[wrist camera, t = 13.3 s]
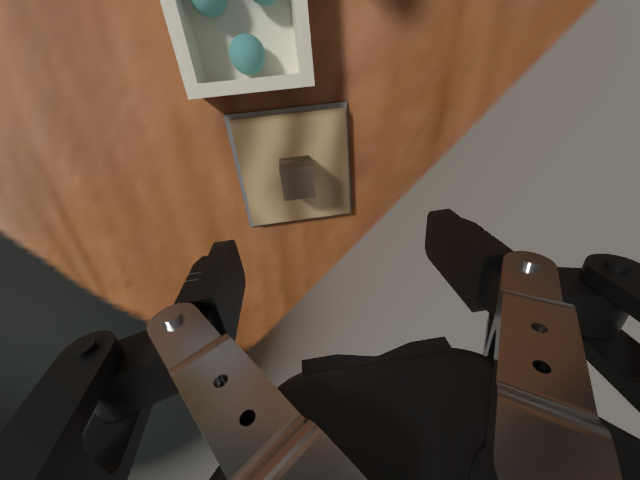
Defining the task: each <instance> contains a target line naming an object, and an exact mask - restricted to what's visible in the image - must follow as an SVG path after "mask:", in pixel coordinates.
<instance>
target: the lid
mask: <svg viewBox="0 0 640 480" xmlns="http://www.w3.org/2000/svg"><path fill="white" fill-rule="evenodd" d="M229 122H230V126H231V131H232V135H233V139H234V144H235V148H236V152H237V157H238V161H239V165H240V170H241V174H242V179H243V183H244V187H245V192H246V196H247V200H248V205H249V209H250V214H251V218H252V222H253V226H257V225H264V224H272V223H279V222H287V221H294V220H302V219H309V218H317V217H324V216H331V215H339V214H346V213H350V201H349V177H348V153H347V128H346V107H338V108H329V109H320V110H311V111H301V112H292V113H283V114H274V115H265V116H256V117H247V118H238V119H230V120H229Z"/></svg>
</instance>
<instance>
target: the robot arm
mask: <svg viewBox="0 0 640 480" xmlns="http://www.w3.org/2000/svg"><path fill="white" fill-rule="evenodd" d="M425 250H426V254H427V256H428V258H429V260H430V261H431V262H432V263H433V265H434V266H435V267H436V268H437V270H438V271H439V272H440V273H441V274H442V276H443V277H444V278H445V279H446V280H447V282H448V283H449V284H450V285H451V287H452V288H453V289H454V290H455V292H456V293H457V294H458V295H459V296H460V298H461V299H462V300H463V301H464V302H465V304H466V305H467V306H468V307H469V309H470V310H471V311H472V312H477V311H483V310H487V311H488V312H489V315H488V320H487V325H486V333H485V341H484V348H483V355H482V354H479V353H475V352H472V351H468V350H464V349H458V348H451V346H450V345H449V343H448V341H447V340H446V338H445V337H439V338H433V339H427V340H421V341H415V342H410V343H407V344H405V345H403V346H400V347H398V348H396V349H393V350H391V351H389V352H386V353H384V354H382V355H379V356H357V355H339V354H337V355H331V356H325V357H319V358H313V359H306V360H302V373H300V374H297V375H295V376H293V377H292V378H290V379H288V380H287V381H285V382H284V383H283V384H281V385H280V386H279V387H278V388H276V387H275V385H273V383H272V382H271V381H270V380H269V379H268V378H267V377H266V376H265V375H264V373H263V372H262V371H261V370H260V369H259V368H258V367H257V366H256V365H255V364H254V362H253V361H252V360H251V359H250V358H249V357H248V356H247V355H246V354H245V352H244V351H243V350H242V349H241V348H240V347H239V346H238V345H237V344H236V343H235V338H236V333H237V327H238V322H239V317H240V311H241V306H242V301H243V296H244V290H245V274H244V270H243V266H242V263H241V260H240V256H239V253H238V249H237V246H236V243H235V241H234V240H228V241H221V242H215V243H214V244H213V246H212V248H211V250H210V253H209V255H208V256H202V257H201V258H200V259H199V260H198V261H197V262H196V263H195V264H194V265H193V267H192V269H191V271H190V273H189V275H188V277H187V279H186V282H185V283H184V285H183V287H182V289H181V291H180V293H179V295H178V297H177V299H176V301H175V303H174V305H171V306H168V307H166V308H164V309H163V310H161V311H160V312H158V313H157V314H156V315H154V316H153V318H152V319H151V320H150V321H149V323H148V325H147V330H145V331H142V332H140V333H137V334H134V335H132V336H129V337H126V338H124V339H121V340H118V339H117V338H116V336H115V335H114V334H113V333H112V332H111V331H106V330H103V331H97V332H93V333H90V334H88V335H86V336H83V337H82V338H80V339H78V340H76V341H74V342H73V343H71V344H70V345H69V346H67V347H66V348H65V349H64V350H63V351H62V352H61V353H60V354H59V355H58V356H57V358H56V359H55V360H54V362H53V363H52V364H51V366H50V367H49V368H48V370H47V371H46V373H45V374H44V375H43V376H42V378H41V379H40V380H39V382H38V383H37V384H36V386H35V387H34V388H33V390H32V391H31V392H30V393H29V395H28V396H27V397H26V399H25V400H24V401H23V403H22V404H21V405H20V407H19V408H18V409H17V411H16V412H15V413H14V415H13V416H12V417H11V419H10V420H9V421H8V423H7V424H6V425H5V426H4V428H3V429H2V431H1V432H0V480H127V479H128V476H129V473H130V470H131V467H132V464H133V461H134V458H135V456H136V453H137V450H138V447H139V444H140V441H141V438H142V435H143V432H144V430H145V427H146V424H147V421H148V418H149V415H150V412H151V409H152V406H153V404H155V403H157V402H159V401H161V400H163V399H166V398H168V397H170V396H172V395H174V394H177V393H179V392H180V394H181V396H182V398H183V400H184V401H185V403H186V405H187V407H188V409H189V411H190V412H191V414H192V416H193V418H194V420H195V422H196V423H197V425H198V427H199V429H200V430H201V433H202V434H203V436H204V438H205V440H206V442H207V444H208V445H209V447H210V449H211V451H212V453H213V454H214V456H215V458H216V460H217V462H218V464H219V466H218V468H217V469H216V471H215V472H214V473H213V475H212V476H211V478H210V479H209V480H640V439H638V438H637V437H635V436H633V435H631V434H629V433H627V432H626V431H624V430H622V429H620V428H618V427H616V426H615V425H612V424H611V423H609V422H607V421H605V420H604V419H602V418H600V417H598V414H597V409H596V404H595V400H594V395H593V390H592V385H591V380H590V376H589V371H588V366H587V361H589V363H590V364H591V365H592V366H594V368H595V369H596V370H597V371H599V373H600V374H601V375H602V376H604V378H606V379H607V380H608V382H609V383H610V384H612V385H613V386H614V387H615V388H616V389H617V390H618V391H619V392H620V393H621V394H622V395H623V396H624V397H625V398H626V399H627V400H628V401H629V402H630V403H631V404H632V405H633V406H634V407H635V408H636V409H637V410H638V411H639V412H640V344H639V343H638V342H637V341H636V340H634V339H633V338H632V337H630V336H629V335H628V334H627V333H625V332H624V331H623V330H622V329H621V328H622V326H623V324H624V323H625V321H626V319H627V318H628V316H629V315H631V316H632V317H633V318H635V319H636V320H637V321H639V322H640V263H638V262H636V261H633V260H631V259H628V258H625V257H621V256H617V255H611V254H593V255H589V256H588V257H587V258H586V259H585V261H584V264H583V266H582V268H564V267H557V266H556V264H555V263H554V262H553V261H552V260H550V259H549V258H547V257H545V256H542V255H540V254H536V253H533V252H527V251H512V250H511V249H510V248H509V247H507V246H506V245H504V244H503V243H502V242H500V241H499V240H498V239H496V238H495V237H494V236H491V234H489V233H488V232H487V231H484V229H483V228H482V227H480V226H479V225H478V224H476V223H474V222H471V221H469V220H466V219H464V218H461V217H459V216H458V215H457V214H456V213H454V212H453V211H452V210H450V209H444V210H438V211H431V212H429V214H428V217H427V228H426V239H425ZM586 360H587V361H586ZM93 412H94V413H95V414H94V416H93V418H92V420H91V422H90V424H89V426H88V428H87V430H86V432H85V434H84V436H83V432H84V429H85V427H86V425H87V423H88V421H89V419H90V417H91V415H92V413H93ZM82 436H83V438H82Z"/></svg>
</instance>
